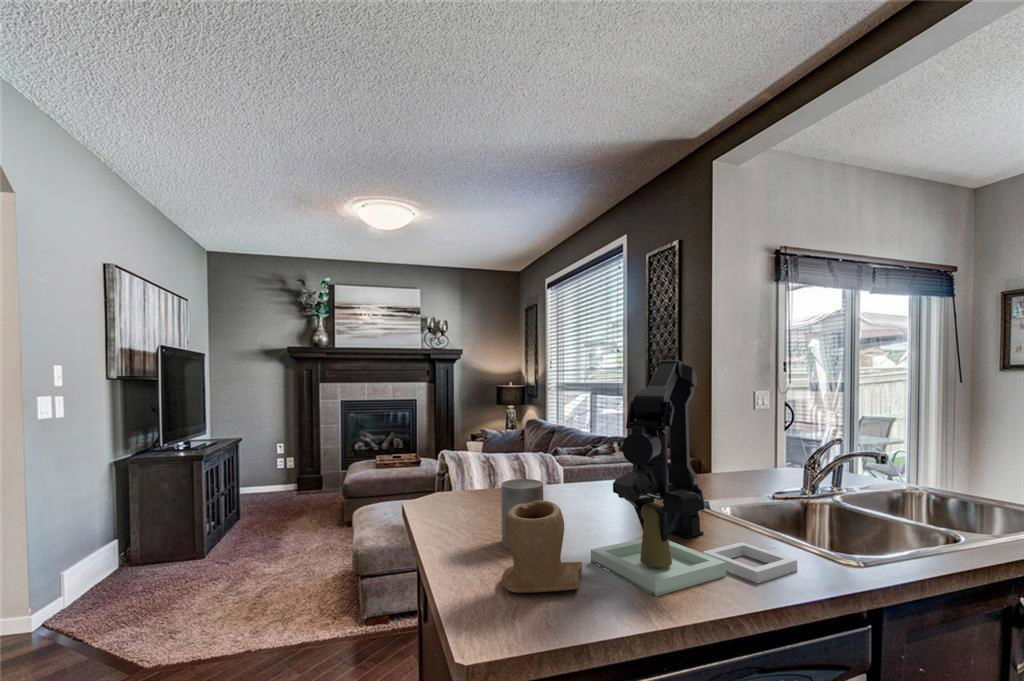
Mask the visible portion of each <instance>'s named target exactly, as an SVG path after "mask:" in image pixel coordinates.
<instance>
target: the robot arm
mask: <svg viewBox="0 0 1024 681" xmlns="http://www.w3.org/2000/svg"><path fill="white" fill-rule="evenodd" d="M697 385H698V377H697V372H696V371H695V369H694V368H693V367H692V366H689V365H687V364H684V363H682V361H681V360H678V359H661V360H659V361H657V365H656V370H655V372H654V374H653V376H652V378H651V380H650V382H649V384H648V386H647V387H646V388H643V389H640V390H639V391H638V392H637V393H636V394H635V395H634V397H633V399H632V400H631V401H630V403H629V409H628V413H627V414H628V415H627V420H626V423H625V424H626V425H625V428H626V430H631V434H629V435H627V436H626V437H625V438H624V440H623V443H622V445H621V451H622V454H623V456H624V458H625V460H626V461H627V462H629V463H630V464H632V470H631V471H629V472H627V473H625V474H624V475H622V476H620V477H618V478H616V479H615V480H613V483H612V493H614V494H617V497H618V498H620V499H624V500H625V501H628V502H629V503H630V504H631V505H632V506H633V507H634V510H635V512H636V516H637V517H638V518H637V519H638V520H639V523H640V526H641V529H642V530H643V526H644V520H643V518H642V516H641V508H642V506H643V505H644V504H647V503H655V500H660V501H661V502H660V504H661V506H657V507H654V509H655V510H656V511H657V512H658V514H659V521H660V534H661V539H662V541H663V542H664V541H667V540H669V537H670V535H671V534H672V535H674V536H675V535H676V536H678V537H680V538H683V539H688V538H692V537H697V536H701V535H704V533H705V532H704V531H702V530H701V519H700V515H699V512H701V511H702V510H703V511H705V498H704V492H703V490H702V488H701V484H699V481H698V475H697V473H696V472H695V470H694V469H693V466H691V460H690V459H691V457H690V427H689V426H690V424H689V404H690V401H691V400H692V399H693V397H694V395H695V393H696V392H695V388H696V387H698V386H697ZM668 430H669V456H670V457H669V456H668V433H667V431H668ZM668 457H669V459H670V460H669V459H668Z"/></svg>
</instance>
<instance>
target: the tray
mask: <svg viewBox="0 0 1024 681" xmlns="http://www.w3.org/2000/svg"><path fill="white" fill-rule="evenodd" d="M641 546H642V538H639V539H633V540H628V541H625V542H619V543H615V544H614V543H613V544H610V545H606V546H600V547H596V548H591V549H590V562H591V561H592V562H594V563H596V564H598V565H600V566H601V567H603V568H605V569H607V570H609V571H610V572H609V571H608V572H609V573H611V572H612V573H614V574H615V575H614V574H613V575H614V576H616V575H617V576H616V577H618V576H619V577H618V578H619V579H622V580H624V581H626V582H627V583H629V584H631V585H633V586H635V587H637V588H639V589H641V590H643V591H644V592H646V593H648V594H650V595H652V596H654V597H659V596H663V595H666V594H669V593H672V592H676V591H680V590H683V589H687V588H690V587H695V586H698V585H701V584H703V583H707V582H710V581H713V580H717V579H721V578H723V577H727V571H726V562H724V561H721V560H719V559H716V558H713V557H711V556H708V555H706V554H703V552H700V551H699V550H698V551H697V550H695V549H693V548H690V547H687V546H684V545H682V544H679V543H676V542H674V541H671V540H669V546H670V552H671V558H672V565H670V566H667V567H652V566H648V565H645V564H643V563H642V562H641V561H640V557H641ZM592 562H591V563H592ZM594 563H593V564H594ZM596 564H595V565H596ZM601 567H600V568H601ZM603 568H602V569H603ZM605 569H604V570H605ZM607 570H606V571H607ZM612 573H611V574H612Z"/></svg>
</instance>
